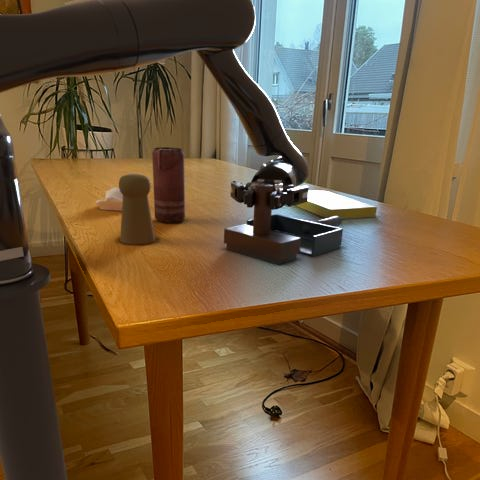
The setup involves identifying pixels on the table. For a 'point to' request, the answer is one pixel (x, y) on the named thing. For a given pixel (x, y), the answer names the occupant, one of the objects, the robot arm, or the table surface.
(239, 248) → the stamp
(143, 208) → the cork
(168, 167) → the can
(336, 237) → the dustpan
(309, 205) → the yellow foam board
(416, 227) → the table surface
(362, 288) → the table surface
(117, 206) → the pale pink lumpy piece
